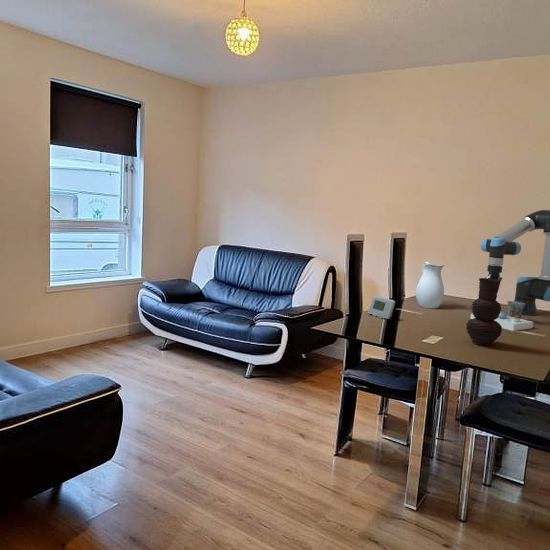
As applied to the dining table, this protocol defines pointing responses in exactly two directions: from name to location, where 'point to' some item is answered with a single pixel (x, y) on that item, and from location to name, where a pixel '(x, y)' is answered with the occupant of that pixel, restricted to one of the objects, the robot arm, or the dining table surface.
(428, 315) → the dining table surface
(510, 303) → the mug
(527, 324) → the panel
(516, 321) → the sage button
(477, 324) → the vase
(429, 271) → the pitcher
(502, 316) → the slate button
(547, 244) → the robot arm
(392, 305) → the digital clock
